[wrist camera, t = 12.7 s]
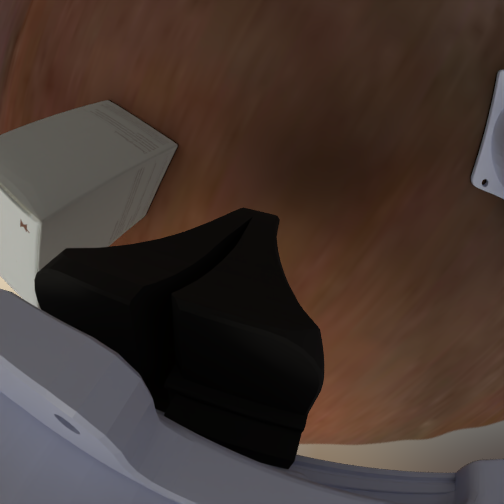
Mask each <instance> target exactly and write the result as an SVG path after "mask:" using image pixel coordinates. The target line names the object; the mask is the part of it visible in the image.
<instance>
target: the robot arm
mask: <svg viewBox="0 0 504 504" xmlns="http://www.w3.org/2000/svg"><path fill="white" fill-rule="evenodd" d="M484 179H486V183H485V184H484V185H482V181H483V180H484ZM471 182H472V184H473V185H474V186H475V187H477V188H479V189H482V190H484V191H486V192H489V193H491V194H494V195H496V196H498V197H500V198H503V199H504V70H499V71H498V73H497V78H496V84H495V89H494V94H493V98H492V103H491V108H490V112H489V116H488V120H487V124H486V128H485V132H484V135H483V139H482V143H481V146H480V150H479V153H478V156H477V159H476V163H475V166H474V169H473V172H472V175H471ZM279 220H280V219H279V218H278V216H276V215H272V214H268V213H264V212H260V211H255V210H251V209H247V208H241V209H238V210H236V211H233V212H231V213H229V214H227V215H224V216H222V217H220V218H218V219H215V220H213V221H211V222H208V223H206V224H203V225H201V226H198V227H195V228H193V229H190V230H188V231H185V232H182V233H179V234H175V235H172V236H168V237H165V238H161V239H157V240H151V241H146V242H141V243H136V244H130V245H122V246H112V247H100V248H66V249H64V250H63V251H62V252H61V253H60V254H58V255H57V256H56V257H55V258H54V259H52V260H51V261H50V262H49V263H48V264H47V265H45V266H44V267H43V268H42V269H41V270H40V271H38V272H37V274H36V276H35V279H34V283H35V293H36V297H37V301H38V303H39V306H40V308H41V309H39V308H37V307H36V306H34V305H32V304H30V303H29V302H27V301H25V300H24V299H22V298H21V297H19V296H17V295H16V294H14V293H12V292H9V291H6V290H3V289H0V504H504V459H490V460H477V461H474V462H471V463H469V464H467V465H465V466H464V467H462V468H461V469H460V470H458V471H457V472H456V473H433V472H412V471H398V470H386V469H378V468H368V467H362V466H354V465H348V464H341V463H335V462H330V461H325V460H319V459H314V458H309V457H304V456H300V455H296V454H297V450H298V446H299V441H300V437H301V433H302V432H303V430H304V428H305V425H306V420H307V416H308V413H309V411H310V409H311V407H312V406H313V404H314V402H315V400H316V399H317V397H318V395H319V393H320V391H321V388H322V385H323V380H324V353H323V345H322V338H321V333H320V329H319V328H318V326H317V325H316V324H315V323H314V322H313V320H312V319H311V318H310V317H309V316H308V315H307V314H306V312H305V311H304V310H303V309H302V307H301V306H300V304H299V303H298V301H297V299H296V297H295V295H294V293H293V292H292V290H291V288H290V286H289V284H288V282H287V279H286V277H285V274H284V271H283V268H282V265H281V262H280V258H279V253H278V247H277V238H276V236H277V231H278V225H279Z"/></svg>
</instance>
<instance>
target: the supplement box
mask: <svg viewBox="0 0 504 504" xmlns="http://www.w3.org/2000/svg"><path fill="white" fill-rule="evenodd" d="M177 147H178V145H177V144H176V143H175V142H173V141H172V140H170V139H169V138H167V137H166V136H164V135H163V134H161V133H160V132H158V131H157V130H155V129H154V128H152V127H151V126H149V125H148V124H146V123H144V122H143V121H141V120H140V119H138V118H137V117H135V116H134V115H132V114H130V113H129V112H127V111H126V110H124V109H122V108H121V107H119V106H118V105H116V104H114V103H112V102H111V101H109V100H106V101H102V102H98V103H94V104H90V105H86V106H83V107H79V108H76V109H73V110H69V111H66V112H63V113H60V114H56V115H53V116H50V117H48V118H44V119H41V120H39V121H36V122H33V123H30V124H27V125H25V126H22V127H19V128H17V129H14V130H12V131H9V132H7V133H4V134H2V135H0V276H1V277H2V278H3V279H4V280H5V281H6V282H7V283H8V284H9V285H10V286H11V288H13V289H14V291H15V292H17V293H18V294H19V295H20V296H21V297H22V298H23V299H24V300H25V301H27V302H29V303H30V304H32V305H34V306H36V307H37V308H39V309H41V308H40V306H39V303H38V301H37V297H36V293H35V283H34V279H35V276H36V274H37V272H38V271H40V270H41V269H42V268H43V267H44V266H45V265H47V264H48V263H49V262H50V261H51V260H52V259H54V258H55V257H56V256H57V255H58V254H60V253H61V252H62V251H63V250H64V249H66V248H100V247H108V246H109V245H111V244H112V243H113V242H114V241H115V240H116V239H118V238H119V237H120V236H121V235H122V234H123V233H125V232H126V231H127V230H128V229H130V228H131V227H132V226H133V225H135V224H136V223H137V222H138V221H139V220H141V219H142V218H143V217H145V215H146V213H147V211H148V209H149V206H150V204H151V202H152V200H153V197H154V195H155V193H156V191H157V189H158V186H159V184H160V182H161V180H162V178H163V176H164V173H165V171H166V169H167V167H168V165H169V163H170V161H171V159H172V157H173V155H174V152H175V150H176V149H177Z"/></svg>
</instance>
